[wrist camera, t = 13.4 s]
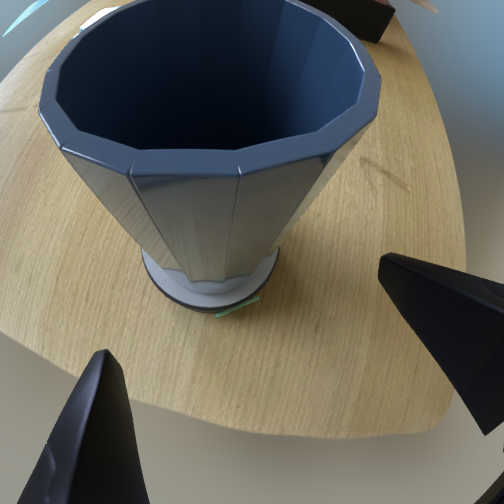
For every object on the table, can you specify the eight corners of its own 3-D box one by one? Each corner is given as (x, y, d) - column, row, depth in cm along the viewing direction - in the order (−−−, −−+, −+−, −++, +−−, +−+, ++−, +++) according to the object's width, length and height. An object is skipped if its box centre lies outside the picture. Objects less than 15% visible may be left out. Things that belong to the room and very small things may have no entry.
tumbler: (290, 239, 17) (422, 78, 4) (209, 319, 15) (171, 300, 3) (215, 168, 18) (226, -25, 5) (134, 235, 16) (16, 69, 3)
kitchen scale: (291, 284, 20) (306, 276, 16) (178, 333, 18) (169, 336, 15) (241, 181, 22) (246, 156, 18) (137, 221, 20) (123, 201, 16)
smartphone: (102, 9, 27) (176, 2, 28) (103, 13, 28) (176, 7, 29) (77, 29, 25) (154, 20, 26) (79, 34, 26) (154, 26, 27)
